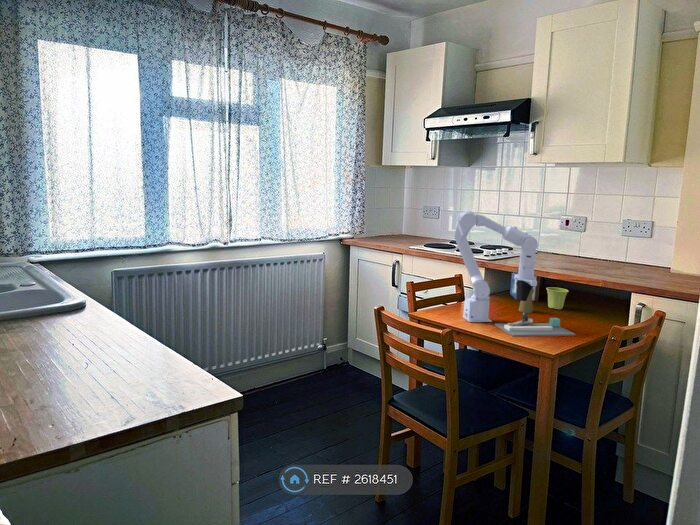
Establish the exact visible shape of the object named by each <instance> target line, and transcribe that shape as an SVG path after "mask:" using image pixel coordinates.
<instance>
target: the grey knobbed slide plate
mask: <svg viewBox="0 0 700 525" xmlns="http://www.w3.org/2000/svg"><path fill="white" fill-rule="evenodd" d="M512 323H513V322H507V323H494V326H496V327H497V328H499V329H500V330H501V331H504V332H505V333H506V334H508V335H510V336H512V337H562V336H563V337H566V336H567V337H570V336H571V337H573V336H577V334H576V333H574V332H572V331H570V330H568V329H566V328H564V327H563V326H560V327H552V326H550V325H549V322H545V323H535V322H534V323H533V322H531V323H528V324H525V325H521V326H513V324H512Z"/></svg>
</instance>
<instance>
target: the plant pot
mask: <svg viewBox="0 0 700 525" xmlns="http://www.w3.org/2000/svg"><path fill="white" fill-rule="evenodd" d="M546 293H547V306H548V308H550V309H554V310H562V309H564V308H563V307H564V304H565V300H566V296H567V294H568V293H569V290H568V289H566V288H561V287H553V286H552V287H551V286H550V287H546Z"/></svg>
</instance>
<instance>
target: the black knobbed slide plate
mask: <svg viewBox="0 0 700 525" xmlns="http://www.w3.org/2000/svg"><path fill="white" fill-rule="evenodd" d="M529 314H530V313H529V312H522V316H521V317H522V319H521V320H517V321H515V322H511V323H512V324H513V326H521V325H525V324H528V323H533V321H534V319H533V318H529Z"/></svg>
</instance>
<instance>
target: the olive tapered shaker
mask: <svg viewBox="0 0 700 525" xmlns="http://www.w3.org/2000/svg"><path fill="white" fill-rule="evenodd" d="M533 292H534V289H533V288H532V289H531V291H530V293H529V295H528V298H527V301H521V300H519V301H520V302H519V307H518V312H521V313H523V312H529V314H531V313H532V314H533V311H534V310H533V301H532V294H533Z"/></svg>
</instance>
